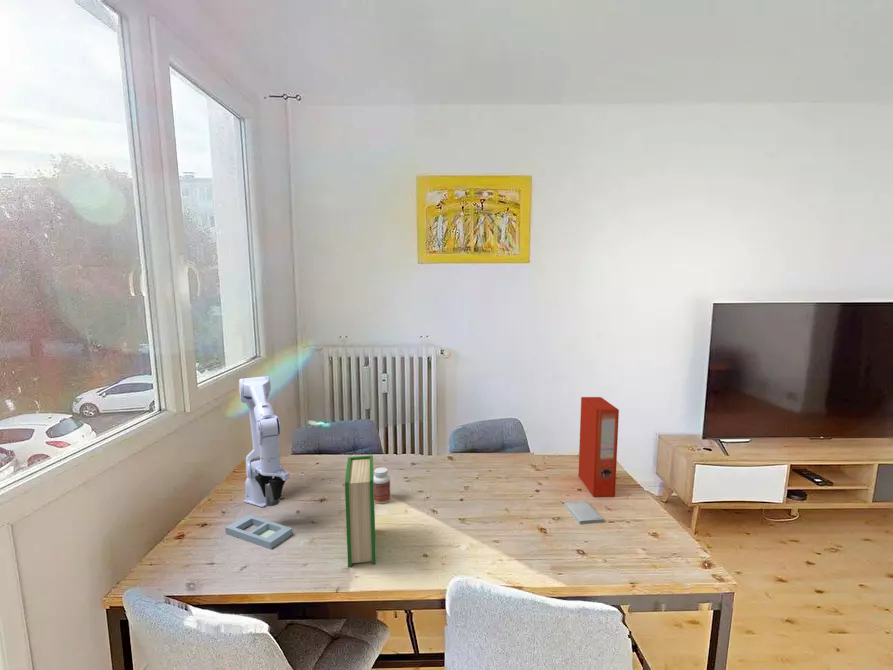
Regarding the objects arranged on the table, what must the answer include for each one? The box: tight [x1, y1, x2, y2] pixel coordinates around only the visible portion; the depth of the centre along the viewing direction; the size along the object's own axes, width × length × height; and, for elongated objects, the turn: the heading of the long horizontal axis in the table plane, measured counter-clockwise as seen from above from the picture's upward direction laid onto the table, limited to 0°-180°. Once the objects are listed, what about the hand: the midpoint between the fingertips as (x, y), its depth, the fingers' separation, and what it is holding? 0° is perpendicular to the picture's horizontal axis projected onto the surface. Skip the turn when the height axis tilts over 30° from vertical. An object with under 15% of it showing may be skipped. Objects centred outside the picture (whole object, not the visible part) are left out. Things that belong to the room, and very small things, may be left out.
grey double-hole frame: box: [225, 514, 294, 550], centre depth 136 cm, size 19×8×2 cm, turn 64°
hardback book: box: [344, 454, 377, 568], centre depth 127 cm, size 18×7×24 cm, turn 10°
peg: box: [265, 480, 280, 507], centre depth 140 cm, size 4×4×7 cm
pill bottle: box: [373, 467, 391, 505], centre depth 156 cm, size 6×6×11 cm
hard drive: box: [563, 500, 605, 525], centre depth 146 cm, size 2×8×12 cm
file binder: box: [578, 396, 620, 498], centre depth 164 cm, size 8×17×32 cm, turn 1°
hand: (272, 497), depth 140 cm, fingers closed on peg, 4 cm apart
